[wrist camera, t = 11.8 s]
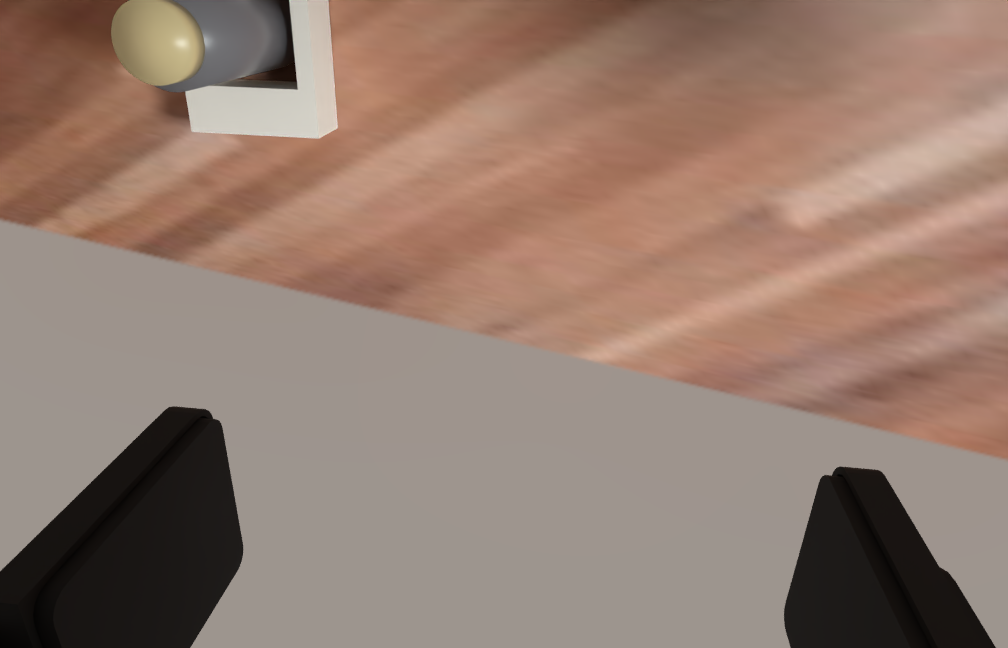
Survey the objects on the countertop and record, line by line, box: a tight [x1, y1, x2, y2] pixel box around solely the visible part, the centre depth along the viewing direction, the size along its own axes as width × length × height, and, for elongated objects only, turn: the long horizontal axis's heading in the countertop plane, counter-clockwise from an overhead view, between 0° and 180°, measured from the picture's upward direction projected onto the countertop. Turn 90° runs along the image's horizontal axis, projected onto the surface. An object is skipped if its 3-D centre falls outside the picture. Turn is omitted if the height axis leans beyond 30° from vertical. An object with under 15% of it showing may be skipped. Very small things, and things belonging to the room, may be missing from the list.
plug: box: [111, 0, 295, 92], centre depth 32 cm, size 4×4×11 cm
